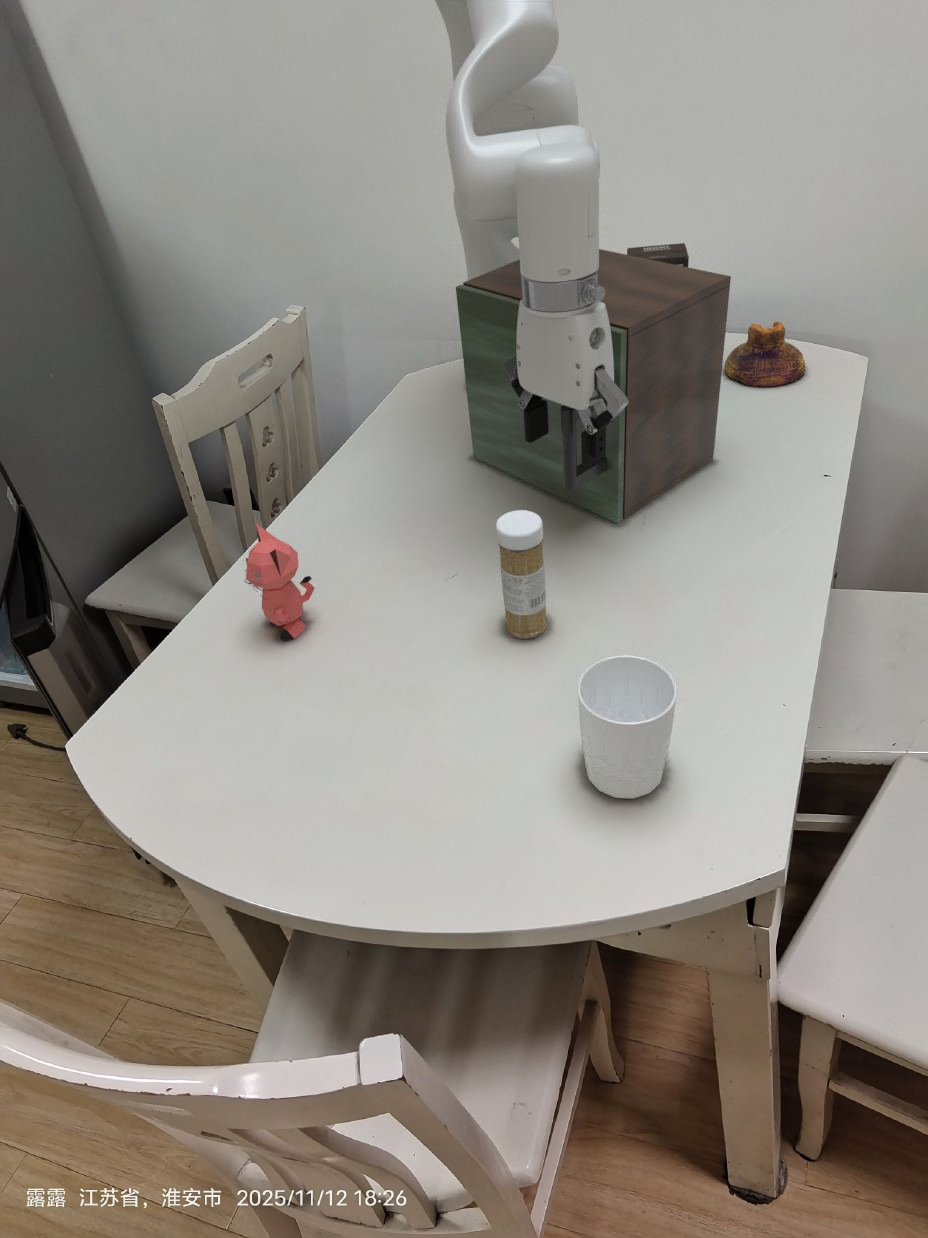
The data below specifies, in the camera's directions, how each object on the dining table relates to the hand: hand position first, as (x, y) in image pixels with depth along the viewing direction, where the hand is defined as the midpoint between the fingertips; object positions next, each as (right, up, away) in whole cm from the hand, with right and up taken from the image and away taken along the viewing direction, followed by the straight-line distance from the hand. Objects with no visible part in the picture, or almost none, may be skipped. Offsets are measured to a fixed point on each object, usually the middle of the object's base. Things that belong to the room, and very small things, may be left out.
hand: (564, 448), depth 94 cm
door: (-3, -3, +16) cm, 17 cm away
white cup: (+3, -32, -19) cm, 38 cm away
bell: (+35, +19, +37) cm, 54 cm away
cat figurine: (-30, -20, +1) cm, 36 cm away
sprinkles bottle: (-4, -20, -3) cm, 21 cm away
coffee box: (+20, +25, +46) cm, 56 cm away
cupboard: (+6, +3, +22) cm, 23 cm away
